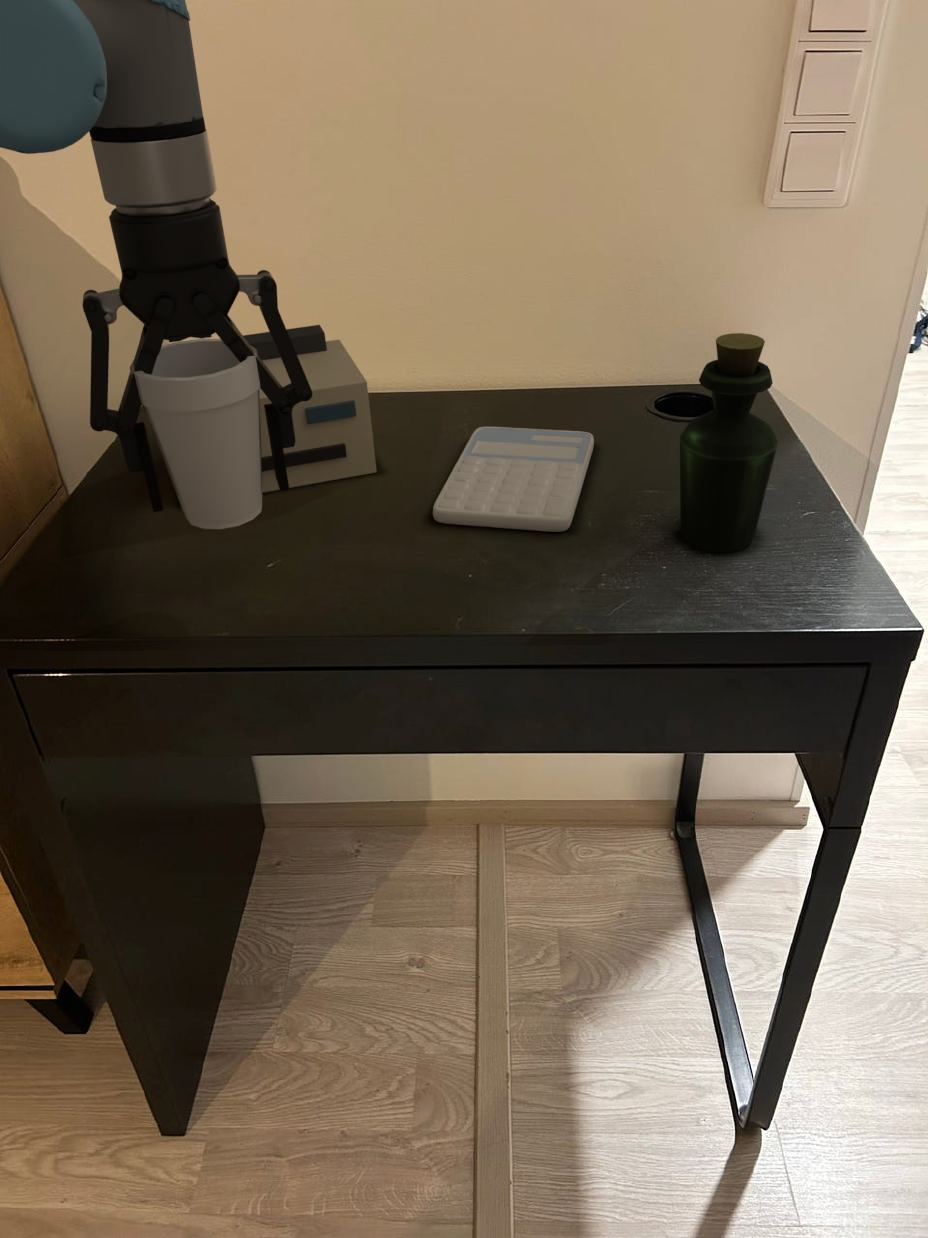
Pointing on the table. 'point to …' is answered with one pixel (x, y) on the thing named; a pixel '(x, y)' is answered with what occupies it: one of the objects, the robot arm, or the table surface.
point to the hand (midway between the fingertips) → (221, 493)
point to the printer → (319, 412)
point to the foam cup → (207, 429)
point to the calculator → (516, 479)
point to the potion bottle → (727, 451)
